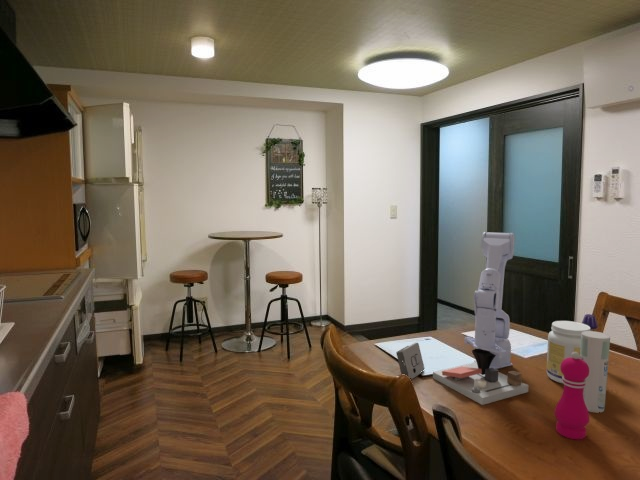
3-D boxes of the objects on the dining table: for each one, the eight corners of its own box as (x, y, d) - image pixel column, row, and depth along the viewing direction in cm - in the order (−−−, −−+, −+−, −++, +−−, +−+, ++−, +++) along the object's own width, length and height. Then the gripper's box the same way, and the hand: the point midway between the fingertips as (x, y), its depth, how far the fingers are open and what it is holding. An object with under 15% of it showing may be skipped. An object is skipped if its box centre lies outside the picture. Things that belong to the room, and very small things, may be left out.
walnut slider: (512, 381, 135) (513, 370, 135) (521, 384, 132) (521, 373, 132) (507, 382, 134) (507, 372, 134) (515, 386, 131) (515, 375, 131)
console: (475, 368, 150) (476, 351, 150) (528, 391, 133) (529, 373, 132) (432, 378, 142) (433, 360, 142) (482, 405, 124) (483, 384, 124)
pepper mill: (547, 425, 114) (552, 347, 111) (575, 424, 114) (580, 346, 112) (565, 441, 106) (570, 358, 104) (595, 440, 107) (600, 357, 105)
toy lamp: (594, 367, 151) (597, 317, 149) (577, 364, 154) (581, 315, 152) (595, 363, 155) (599, 314, 153) (580, 360, 157) (583, 312, 156)
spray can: (604, 415, 119) (610, 340, 117) (576, 409, 122) (580, 335, 120) (605, 405, 124) (610, 333, 122) (577, 399, 128) (582, 329, 126)
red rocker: (462, 370, 142) (461, 366, 142) (481, 373, 135) (481, 368, 135) (442, 375, 138) (441, 371, 138) (461, 378, 131) (460, 373, 131)
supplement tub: (588, 374, 145) (592, 322, 143) (593, 390, 134) (596, 333, 132) (545, 368, 150) (548, 317, 148) (546, 382, 139) (549, 328, 137)
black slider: (491, 377, 137) (492, 367, 137) (498, 380, 135) (498, 370, 135) (484, 379, 136) (485, 369, 136) (491, 382, 134) (491, 372, 134)
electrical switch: (411, 380, 141) (409, 350, 140) (396, 377, 144) (394, 348, 143) (425, 371, 148) (423, 342, 147) (410, 368, 151) (408, 341, 151)
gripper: (457, 324, 141) (456, 367, 143) (494, 338, 129) (492, 385, 130) (474, 321, 145) (472, 363, 146) (512, 334, 132) (510, 380, 133)
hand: (483, 373), depth 138 cm, fingers closed
